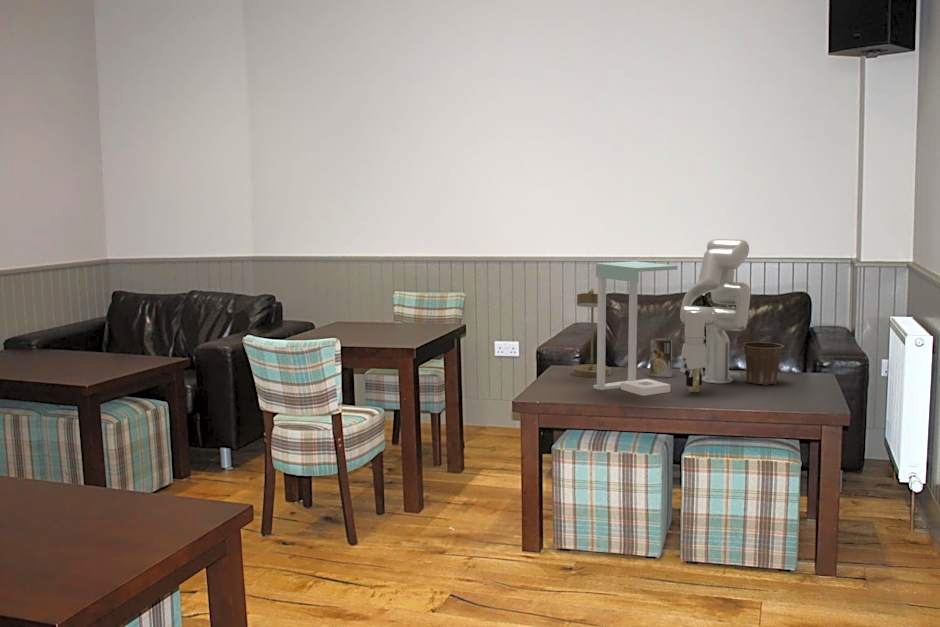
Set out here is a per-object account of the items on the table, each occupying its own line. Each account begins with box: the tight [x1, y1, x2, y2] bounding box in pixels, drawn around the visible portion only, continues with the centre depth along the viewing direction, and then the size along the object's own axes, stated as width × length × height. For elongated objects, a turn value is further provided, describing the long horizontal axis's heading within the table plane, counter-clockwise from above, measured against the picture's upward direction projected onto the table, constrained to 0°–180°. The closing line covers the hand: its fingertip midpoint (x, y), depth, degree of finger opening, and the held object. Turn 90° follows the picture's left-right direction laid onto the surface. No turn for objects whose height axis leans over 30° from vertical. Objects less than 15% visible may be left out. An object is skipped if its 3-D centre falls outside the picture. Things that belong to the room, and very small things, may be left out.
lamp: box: [571, 288, 611, 378], centre depth 423 cm, size 17×27×38 cm, turn 169°
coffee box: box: [649, 337, 673, 378], centre depth 424 cm, size 9×6×16 cm
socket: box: [620, 378, 671, 397], centre depth 394 cm, size 14×14×3 cm
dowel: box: [688, 368, 700, 393], centre depth 388 cm, size 4×4×10 cm
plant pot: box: [742, 341, 784, 386], centre depth 407 cm, size 16×16×16 cm
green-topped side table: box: [592, 260, 678, 391], centre depth 389 cm, size 20×27×52 cm
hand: (693, 385), depth 388 cm, fingers closed on dowel, 4 cm apart
